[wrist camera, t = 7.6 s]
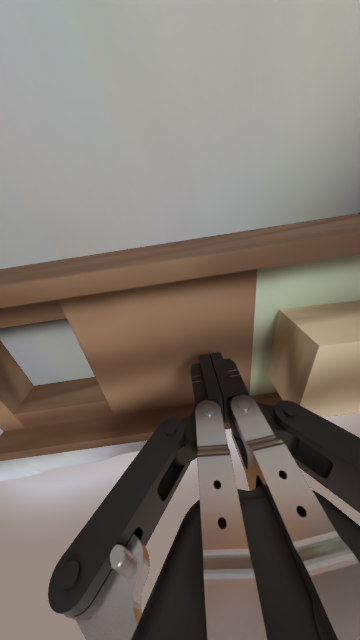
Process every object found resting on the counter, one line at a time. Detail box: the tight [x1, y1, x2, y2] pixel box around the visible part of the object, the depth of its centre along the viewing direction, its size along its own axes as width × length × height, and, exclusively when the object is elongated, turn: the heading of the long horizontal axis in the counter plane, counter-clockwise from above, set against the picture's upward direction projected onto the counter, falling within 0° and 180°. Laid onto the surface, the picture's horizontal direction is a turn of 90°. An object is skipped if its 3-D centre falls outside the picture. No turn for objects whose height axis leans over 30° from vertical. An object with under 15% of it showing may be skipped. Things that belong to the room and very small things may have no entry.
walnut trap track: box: [0, 213, 360, 461], centre depth 15 cm, size 14×42×5 cm, turn 98°
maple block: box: [267, 300, 360, 417], centre depth 13 cm, size 6×6×4 cm
